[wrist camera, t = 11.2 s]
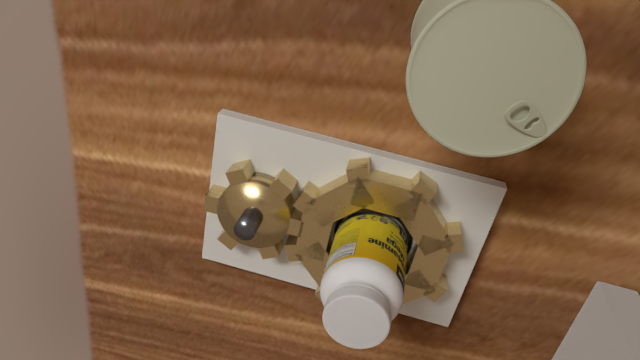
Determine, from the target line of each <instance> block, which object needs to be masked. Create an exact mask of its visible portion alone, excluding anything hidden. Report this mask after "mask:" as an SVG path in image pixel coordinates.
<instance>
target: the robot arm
mask: <svg viewBox="0 0 640 360" xmlns="http://www.w3.org/2000/svg"><path fill="white" fill-rule="evenodd" d="M552 360H640V296H639V294H638V292H637V291H633V290H630V289H626V288H622V287H618V286H615V285H611V284H607V283H604V282H600V281H597V283H596V284H595V286H594V288H593V289H592V291H591V293H590V295H589V296H588V298H587V300H586V301H585V303H584V305H583V307H582V308H581V310H580V312H579V313H578V315H577V317H576V319H575V320H574V322H573V324H572V325H571V327H570V329H569V331H568V332H567V334H566V336H565V337H564V339H563V341H562V343H561V344H560V346H559V348H558V350H557V351H556V353H555V355H554V356H553V358H552Z"/></svg>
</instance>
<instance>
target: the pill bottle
mask: <svg viewBox="0 0 640 360" xmlns="http://www.w3.org/2000/svg"><path fill="white" fill-rule="evenodd" d="M407 248H408V242H407V235H406V232H405V230H404V228H403V226H402V224H401V223H400V222H399V221H398V220H397V219H396V218H395V217H394V216H392V215H388V214H384V213H380V212H377V211H373V210H369V209H362V210H358V211H356V212H354V213H352V214H350V215H348V216H346V217H345V218H344V219H343V220H342V222H341V223H340V225H339V226H338V229H337V231H336V234H335V238H334V241H333V244H332V248H331V251H330V254H329V257H328V261H327V264H326V267H325V270H324V274H323V277H322V280H321V285H320V297H321V301H322V303H323V306H324V311H323V317H322V319H323V325H324V327H325V329H326V331H327V333H328V334H329V335H330V336H331V337H332V338H333V339H334V340H335V341H337V342H338V343H340V344H342V345H344V346H347V347H350V348H355V349H367V348H371V347H374V346H376V345H378V344H380V343H381V342H383V341H384V340H385V338H386V337H387V335H388V334H389V331H390V326H391V321H392V320H393V319H394V318H395V317H396V316H397V314H398V313H399V311H400V309H401V307H402V304H403V298H404V288H405V275H406V261H407Z"/></svg>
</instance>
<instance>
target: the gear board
mask: <svg viewBox="0 0 640 360" xmlns="http://www.w3.org/2000/svg"><path fill="white" fill-rule="evenodd" d="M367 157H370V160H371V166H372V169H375V170H378V171H382V172H386V173H390V174H394V175H397V176H401V177H405V178H409V179H412V178H413V177H414V176H415V175H416V174H417V173H418V171H419V170H420V171H422V172H423V173H424V174H426V175H427V176H428V177H430V178H431V179H433V180H434V181H435V182H436V183H437V194H436V195H435V196H434V197H433V200H434V201H435V203H436V205H437V206H438V208H439V209H440V211H441V213H442V214H443V216H444V218H445V219H446V221H447V222H457V221H460V224H461V233H462V244H463V252H456V253H450V254H449V257H448V259H447V262H446V264H445V267H444V269H443V272H442V273H443V274H444V275H446V276H447V292H445V293H444V294H443V295H442V296H441V297H440V298H439V299H438V300H437V301H435V302H433V301H432V300H430V299H429V298H427V297H426V296H423V297H420V298H418V299H415V300H413V301H410V302H407V303H405V304H402V307H401V309H400V311H399V313H400V314H403V315H407V316H410V317H414V318H417V319H421V320H424V321H428V322H431V323H435V324H438V325H442V326H446V327H448V326H449V324H450V321H451V319H452V317H453V314H454V312H455V310H456V307H457V305H458V303H459V300H460V298H461V296H462V293H463V291H464V289H465V286H466V284H467V282H468V279H469V277H470V275H471V272H472V270H473V268H474V265H475V263H476V261H477V258H478V256H479V254H480V251H481V249H482V247H483V244H484V242H485V240H486V237H487V235H488V233H489V230H490V228H491V226H492V223H493V221H494V219H495V216H496V214H497V212H498V209H499V207H500V205H501V202H502V200H503V198H504V195H505V193H506V191H507V187H506V183H505V182H502V181H498V180H495V179H491V178H487V177H483V176H479V175H475V174H472V173H468V172H464V171H460V170H456V169H452V168H449V167H445V166H441V165H437V164H433V163H429V162H426V161H422V160H418V159H414V158H410V157H406V156H403V155H399V154H395V153H391V152H387V151H383V150H380V149H376V148H372V147H368V146H364V145H360V144H357V143H353V142H349V141H345V140H341V139H337V138H334V137H330V136H326V135H322V134H318V133H314V132H310V131H307V130H303V129H299V128H295V127H291V126H287V125H284V124H280V123H276V122H272V121H268V120H264V119H261V118H257V117H253V116H249V115H245V114H241V113H238V112H234V111H230V110H226V109H222V110H221V111H220V112H219V113H218V116H217V125H216V134H215V143H214V153H213V162H212V171H211V180H210V188H211V187H212V186H213V185H214V184H215V185H218V186H222V187H226V188H227V187H228V186H229V184H230V183H229V181H228V178H227V176H226V174H225V173H226V172H227V170H228V169H229V168H230V167H231V165H232V164H233V163H236V162H240V161H244V160H248V159H250V160H251V163H252V165H253V168H254V170H255V172H261V173H265V174H268V175H271V176H273V177H275V176H276V175H277V174H278V173H279V172H280V171H281V170H282V169H283V168H284V169H285V170H286V171H288V172H289V173H290V174H291V175H292V176H293V177H294V178H295V179H297V180H298V181H297V183H296V185H295V187H294V189H293V191H292V192H291V194H292V197H293V199H294V202H295V200H296V198H297V195H298V194H299V192H300V191H301V190H302V189H303V187H304V186H305V185H306V183H307V182H308V181H310V182H311V183H313V184H314V185H316V186H317V187H321V186H323V185H325V184H327V183H329V182H331V181H333V180H335V179H336V178H338V177H340V176H342V175H344V174H346V168H347V165H348V162H349V159H357V158H367ZM209 190H210V189H209ZM336 222H337V221H335V222H334V223H333V227H332V231H331V235H330V240H331V241H332V243H333V241H334V229H335V225H336ZM222 231H223V227H222V226H221V224H220V222H219V219H218V215H217V214H214V213H211V212H207V216H206V225H205V234H204V243H203V252H202V258H205V259H209V260H212V261H216V262H220V263H223V264H227V265H230V266H234V267H237V268H241V269H244V270H248V271H251V272H255V273H258V274H262V275H265V276H269V277H273V278H276V279H280V280H283V281H287V282H290V283H294V284H297V285H301V286H304V287H308V288H311V289H315V290H316V289H317V285H318V284H317V283H316V282H315V280H314V279H313V278H312V276H311V275H310V274H309V272H308V271H307V270H306V268H305V267H304V266H303V264H302V263H301V261H291V262H289V260H288V257H287V253H286V249H285V245H284V247H283V249H282V251H281V254H280V256H279V257H274V258H268V259H262V257H261V254H260V252H259V250H258V248H254V247H249V246H246V245H243V244H241V243H238V244H237V245H236V246H235V247H234V248H233V249H232V250H230V249H228V248H227V247H226V246H225V245H223V244H222V243H221V242H220V241H219V240H217V238H218V237H219V235H220V234H221V232H222ZM287 232H288V231H287ZM288 236H289V234H286V235H285V237H284V238H283V241H284V243H286V241H287V239H288ZM414 244H415V240H414V239H413V242H412V247H411V249H410V252H409V253H408V255H407V261H409V259H410V256H411V253H412V250H413V247H414Z"/></svg>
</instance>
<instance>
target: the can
mask: <svg viewBox="0 0 640 360" xmlns="http://www.w3.org/2000/svg"><path fill="white" fill-rule="evenodd" d="M411 48H412V49H411V53H410V56H409V59H408V63H407V69H406V92H407V97H408V101H409V104H410V107H411V110H412V112H413V114H414V116H415V118H416V119H417V121H418V123H419V124H420V125H421V127H422V128H423V129H424V130H425V131H426V133H427V134H428V135H430V136H431V137H432V138H433V139H434V140H436V141H437V142H438V143H440V144H441V145H443V146H445V147H447V148H449V149H450V150H453V151H455V152H458V153H461V154H465V155H469V156H475V157H486V158H488V157H501V156H507V155H512V154H515V153H519V152H521V151H524V150H527V149H529V148H531V147H533V146H535V145H537V144H538V143H540V142H542V141H543V140H545V139H546V138H548V137H549V136H550V135H552V134H553V133H554V132H555V131H556V130H557V129H558V128H559V127H560V126H561V125H562V124H563V123H564V122H565V121H566V119H567V118H568V117H569V116H570V114H571V113H572V111H573V109H574V108H575V106H576V104H577V102H578V100H579V98H580V96H581V93H582V90H583V87H584V83H585V77H586V67H587V64H586V52H585V47H584V43H583V40H582V37H581V35H580V32H579V30H578V29H577V27H576V25H575V23H574V22H573V20H572V19H571V18H570V17H569V15H568V14H567V13H566V12H565V11H564V10H563V9H562V8H560V7H559V6H558V5H557V4H555V3H554V2H553V1H551V0H423V1H422V3H421V4H420V6H419V8H418V10H417V12H416V14H415V17H414V20H413V24H412V30H411Z"/></svg>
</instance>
